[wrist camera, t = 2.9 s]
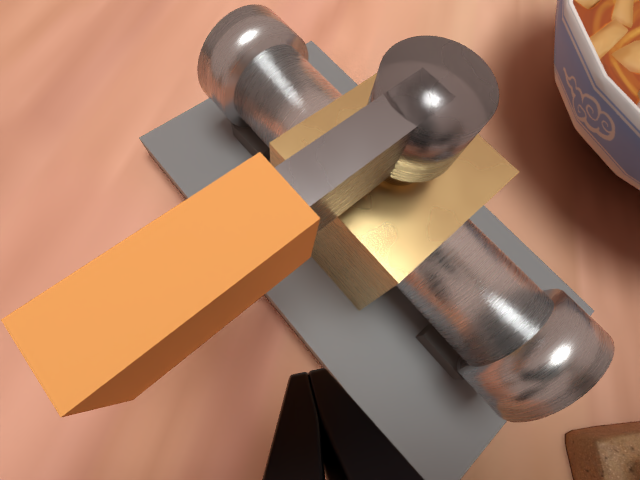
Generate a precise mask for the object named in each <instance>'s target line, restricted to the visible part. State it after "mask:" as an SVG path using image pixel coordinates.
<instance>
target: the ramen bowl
mask: <svg viewBox="0 0 640 480" xmlns="http://www.w3.org/2000/svg"><path fill="white" fill-rule="evenodd" d="M554 73H555V82H556V84H557V87H558V89H559V91H560V94H561V96H562V99H563V101H564V104H565V106H566V108H567V111H568V113H569V116H570V118H571V120H572V123H573V125H574V128H575V129H576V130H577V132H578V133H579V134H580V135H581V136H582V137H583V139H584V140H585V141H586V142H587V143H588V144H589V145H590V146H591V148H592V149H593V150H594V151H595V152H596V153H597V154H598V155H599V157H600V158H601V159H602V160H603V161H604V162H605V163H606V164H607V166H608V167H609V168H610V169H611V170H612V171H613V172H614V173H615V174H616V175H617V176H618V177H620V178H621V179H623V180H624V181H626V182H628V183H629V184H631V185H632V186H634V187H635V188H637V189H638V190H640V0H557V9H556V21H555V45H554Z"/></svg>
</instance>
